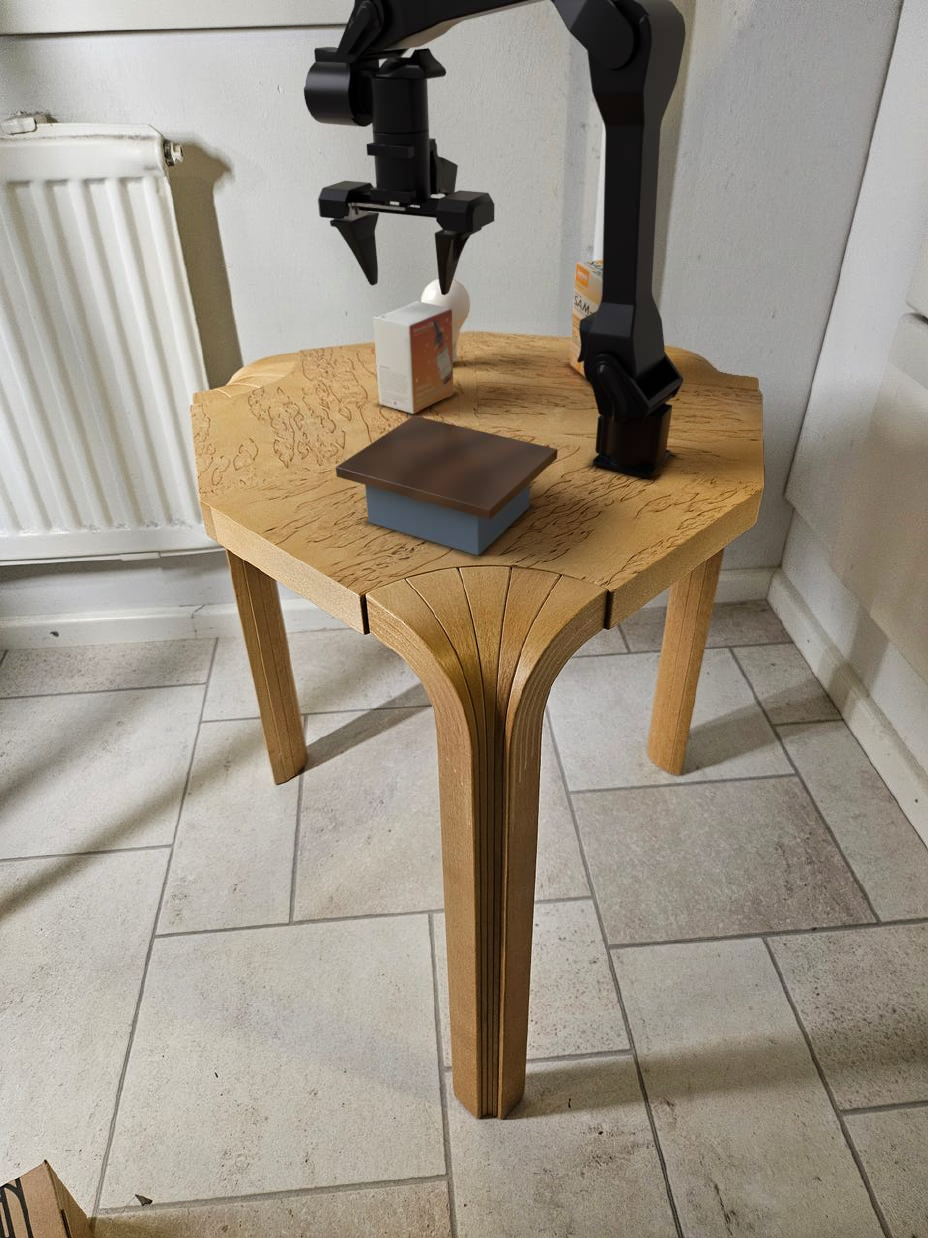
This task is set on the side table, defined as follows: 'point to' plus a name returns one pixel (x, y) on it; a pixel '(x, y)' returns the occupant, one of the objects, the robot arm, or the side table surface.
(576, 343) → the supplement box
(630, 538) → the side table surface
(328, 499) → the side table surface
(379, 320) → the small box
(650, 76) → the robot arm
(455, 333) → the lightbulb
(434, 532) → the blue box
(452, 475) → the wooden board
